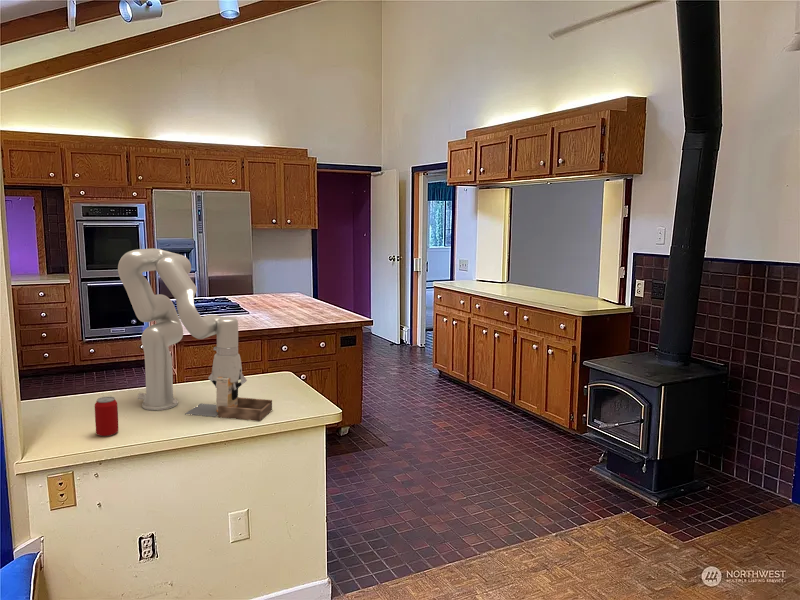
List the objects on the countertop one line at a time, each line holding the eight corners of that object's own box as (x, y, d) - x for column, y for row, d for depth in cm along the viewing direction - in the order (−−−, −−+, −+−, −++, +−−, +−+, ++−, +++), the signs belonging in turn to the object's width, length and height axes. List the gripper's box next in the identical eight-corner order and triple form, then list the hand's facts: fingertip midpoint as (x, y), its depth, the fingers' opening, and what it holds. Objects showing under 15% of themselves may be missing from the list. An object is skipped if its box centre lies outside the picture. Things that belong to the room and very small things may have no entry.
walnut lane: (218, 417, 213) (217, 406, 213) (232, 406, 225) (232, 396, 224) (259, 420, 211) (259, 410, 210) (272, 410, 223) (272, 400, 222)
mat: (184, 414, 215) (184, 413, 215) (200, 404, 227) (200, 403, 227) (215, 417, 213) (215, 416, 213) (229, 406, 225) (229, 405, 225)
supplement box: (227, 413, 214) (228, 379, 212) (215, 412, 215) (215, 377, 213) (238, 406, 222) (238, 373, 220) (226, 405, 223) (226, 371, 221)
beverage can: (122, 430, 198) (120, 396, 196) (113, 437, 192) (111, 402, 190) (101, 429, 198) (100, 395, 196) (92, 437, 191) (90, 402, 190)
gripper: (200, 351, 213) (201, 399, 216) (245, 355, 211) (244, 403, 213) (210, 346, 220) (210, 393, 223) (253, 350, 218) (253, 397, 221)
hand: (227, 397), depth 218 cm, fingers closed on supplement box, 4 cm apart
